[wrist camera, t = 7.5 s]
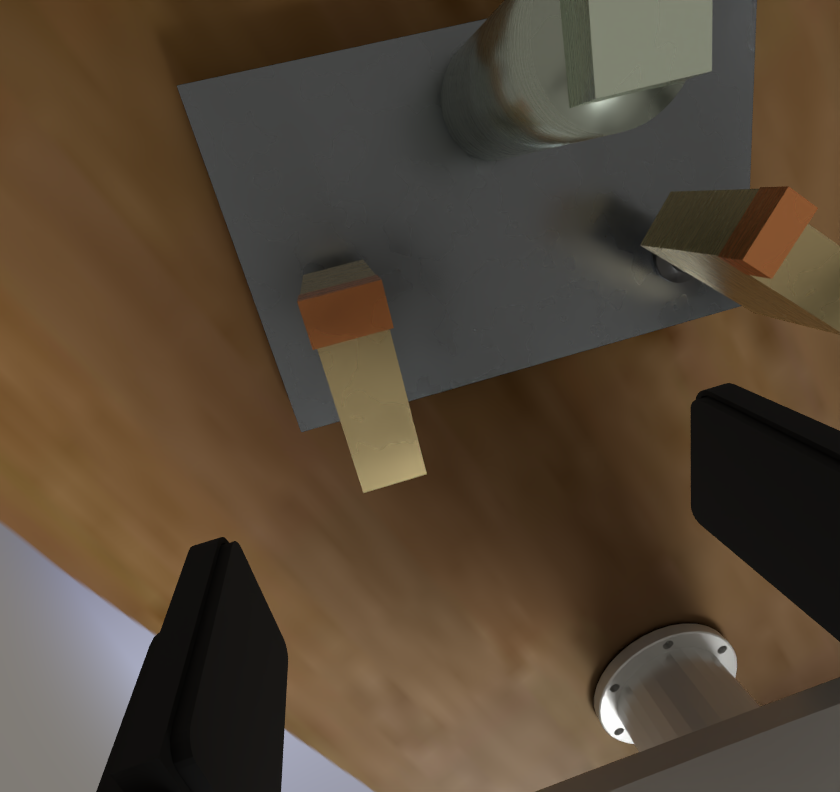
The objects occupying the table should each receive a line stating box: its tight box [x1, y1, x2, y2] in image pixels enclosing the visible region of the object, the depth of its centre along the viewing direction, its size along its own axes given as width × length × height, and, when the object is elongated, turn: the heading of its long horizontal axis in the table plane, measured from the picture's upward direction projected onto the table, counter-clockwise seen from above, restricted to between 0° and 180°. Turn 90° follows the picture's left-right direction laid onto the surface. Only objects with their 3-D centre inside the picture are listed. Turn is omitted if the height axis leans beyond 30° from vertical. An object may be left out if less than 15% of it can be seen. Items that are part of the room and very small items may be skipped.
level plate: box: [177, 0, 757, 432], centre depth 20 cm, size 16×26×13 cm, turn 103°
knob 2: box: [640, 187, 840, 335], centre depth 23 cm, size 8×3×8 cm, turn 64°
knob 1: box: [297, 260, 427, 493], centre depth 21 cm, size 8×3×8 cm, turn 13°
